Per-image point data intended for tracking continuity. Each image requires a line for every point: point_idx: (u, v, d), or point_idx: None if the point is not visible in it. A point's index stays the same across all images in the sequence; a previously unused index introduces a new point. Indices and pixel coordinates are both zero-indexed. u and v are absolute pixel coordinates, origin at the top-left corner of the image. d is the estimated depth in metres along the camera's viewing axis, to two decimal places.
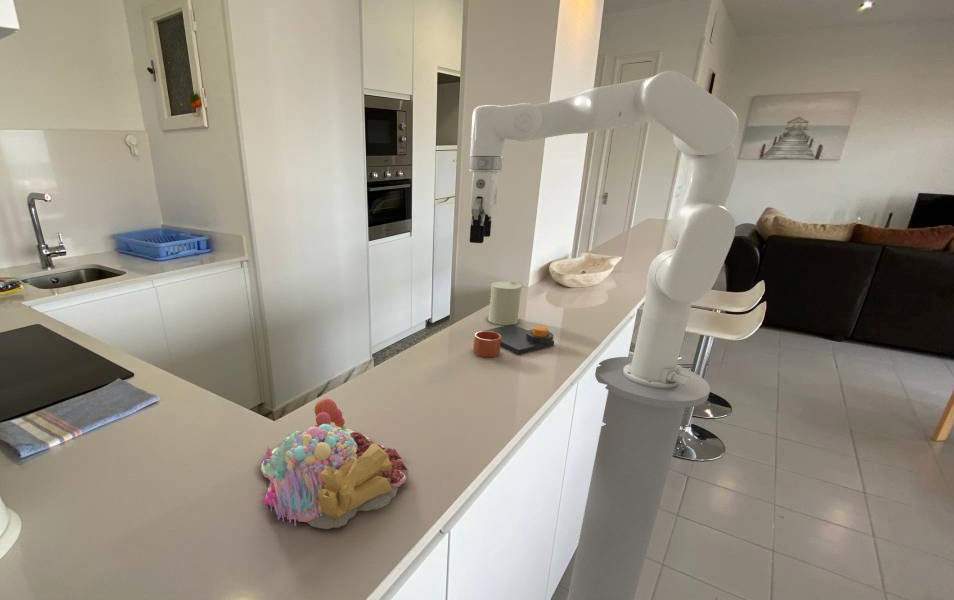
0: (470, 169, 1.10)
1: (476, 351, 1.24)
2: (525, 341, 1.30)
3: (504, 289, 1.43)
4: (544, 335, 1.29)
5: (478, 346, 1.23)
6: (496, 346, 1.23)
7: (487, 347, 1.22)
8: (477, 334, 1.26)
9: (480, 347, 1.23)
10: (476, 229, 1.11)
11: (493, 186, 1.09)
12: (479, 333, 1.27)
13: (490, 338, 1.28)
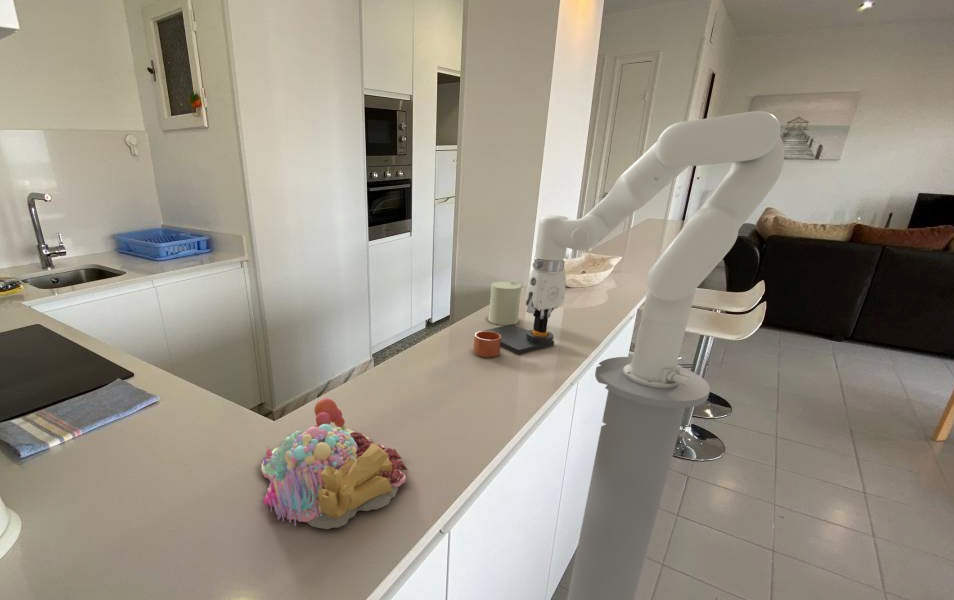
0: (533, 266, 1.26)
1: (476, 351, 1.24)
2: (525, 341, 1.30)
3: (504, 289, 1.43)
4: None
5: (478, 346, 1.23)
6: (496, 346, 1.23)
7: (487, 347, 1.22)
8: (477, 334, 1.26)
9: (480, 347, 1.23)
10: (537, 320, 1.29)
11: (545, 285, 1.22)
12: (479, 333, 1.27)
13: (490, 338, 1.28)
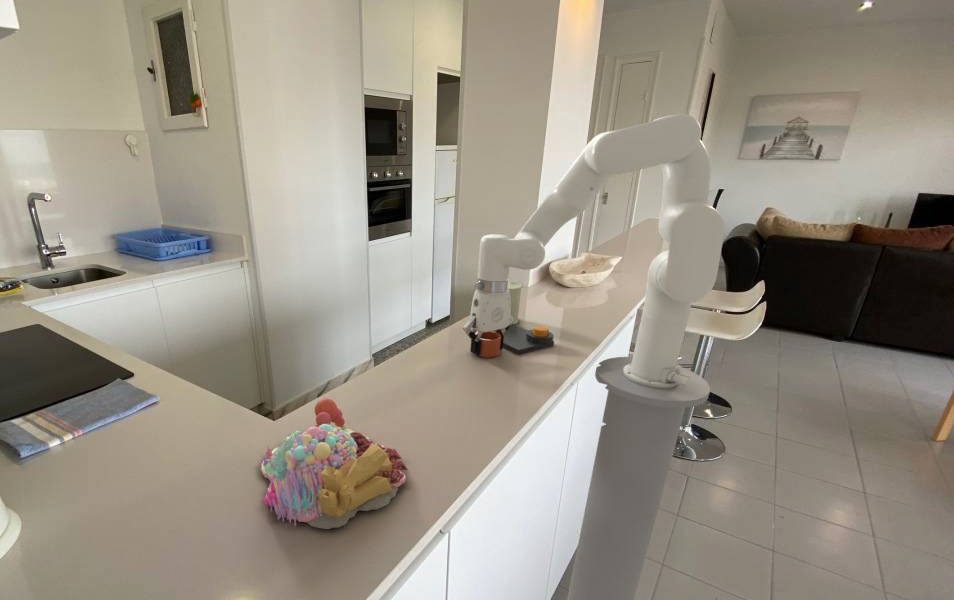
0: None
1: None
2: (525, 341, 1.30)
3: None
4: (544, 335, 1.29)
5: None
6: (496, 346, 1.23)
7: (487, 347, 1.22)
8: None
9: None
10: (473, 342, 1.23)
11: (488, 307, 1.18)
12: None
13: (490, 338, 1.28)
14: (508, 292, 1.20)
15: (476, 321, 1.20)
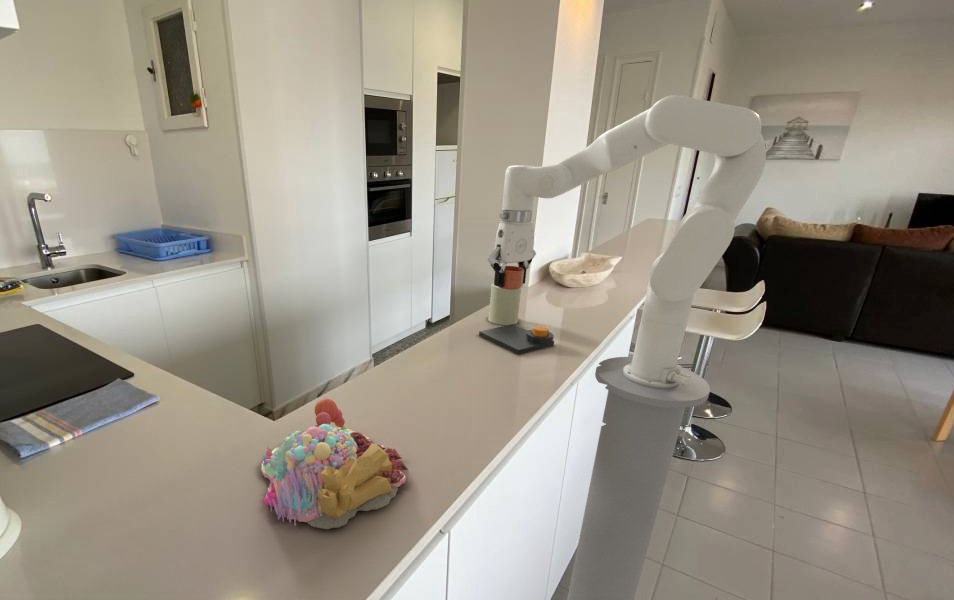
0: None
1: None
2: (525, 341, 1.30)
3: (504, 289, 1.43)
4: (544, 335, 1.29)
5: None
6: (519, 278, 1.25)
7: (511, 279, 1.25)
8: None
9: None
10: (497, 274, 1.26)
11: (512, 237, 1.20)
12: None
13: None
14: (532, 223, 1.23)
15: (501, 252, 1.22)
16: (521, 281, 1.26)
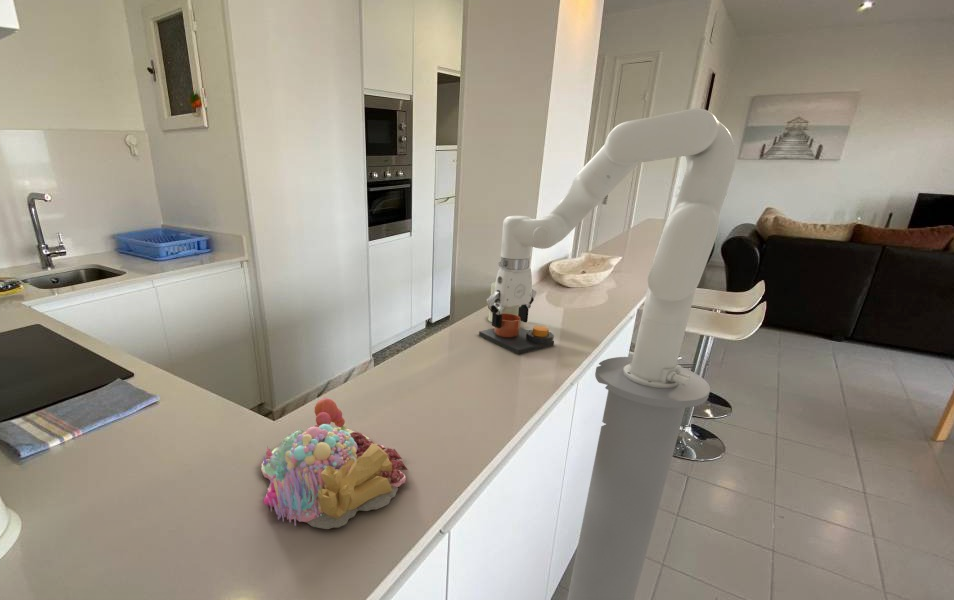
0: None
1: (497, 332, 1.34)
2: (525, 341, 1.30)
3: None
4: (544, 335, 1.29)
5: None
6: (516, 327, 1.32)
7: (508, 327, 1.32)
8: None
9: (501, 327, 1.32)
10: (494, 316, 1.31)
11: (511, 283, 1.26)
12: None
13: (510, 320, 1.37)
14: (529, 270, 1.28)
15: (500, 294, 1.28)
16: (518, 329, 1.33)
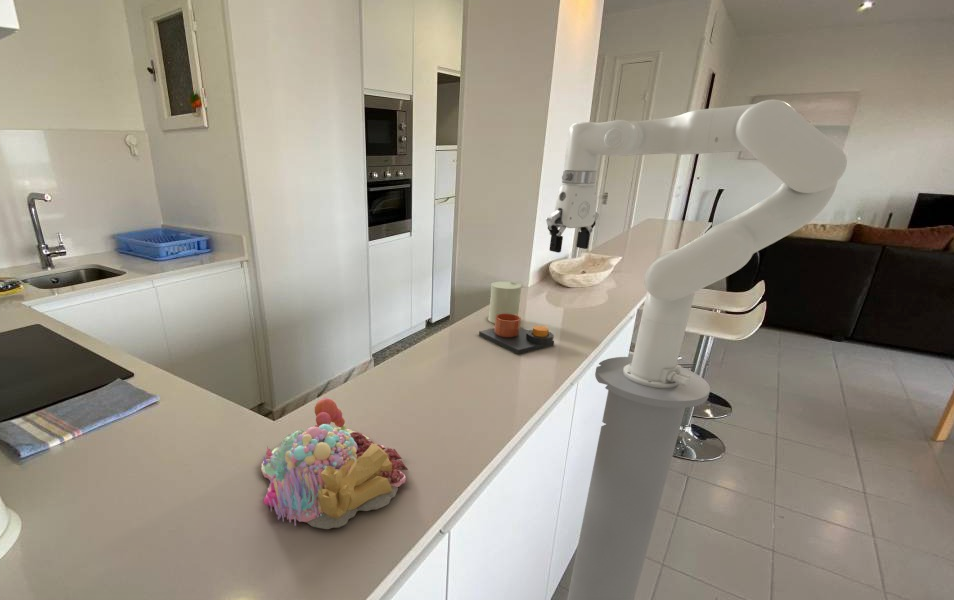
0: None
1: (497, 332, 1.34)
2: (525, 341, 1.30)
3: (504, 289, 1.43)
4: (544, 335, 1.29)
5: (499, 327, 1.33)
6: (516, 327, 1.32)
7: (508, 327, 1.32)
8: (498, 316, 1.36)
9: (501, 327, 1.32)
10: (553, 238, 1.18)
11: (576, 199, 1.13)
12: (499, 315, 1.36)
13: (510, 320, 1.37)
14: (595, 186, 1.15)
15: (563, 213, 1.15)
16: (518, 329, 1.33)
